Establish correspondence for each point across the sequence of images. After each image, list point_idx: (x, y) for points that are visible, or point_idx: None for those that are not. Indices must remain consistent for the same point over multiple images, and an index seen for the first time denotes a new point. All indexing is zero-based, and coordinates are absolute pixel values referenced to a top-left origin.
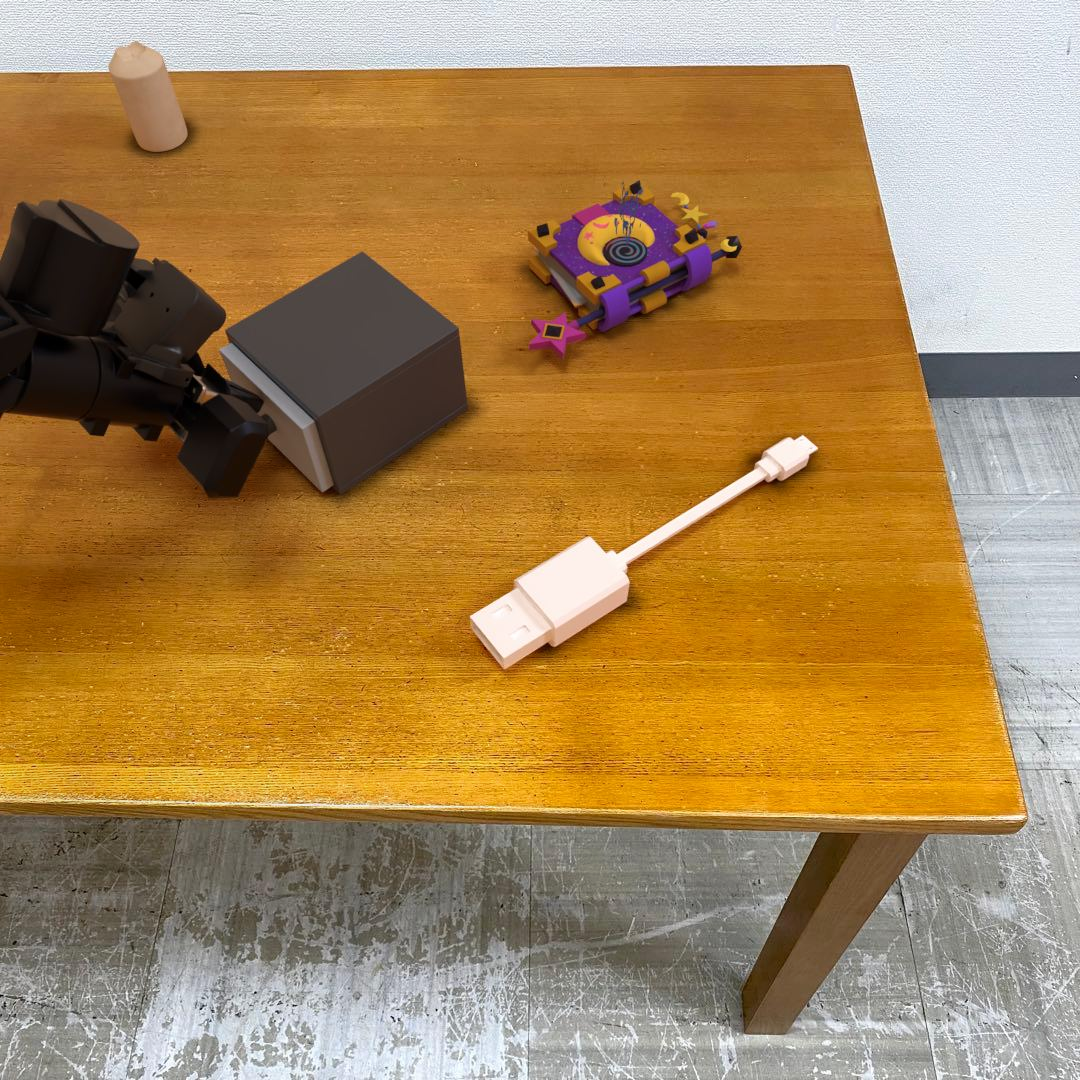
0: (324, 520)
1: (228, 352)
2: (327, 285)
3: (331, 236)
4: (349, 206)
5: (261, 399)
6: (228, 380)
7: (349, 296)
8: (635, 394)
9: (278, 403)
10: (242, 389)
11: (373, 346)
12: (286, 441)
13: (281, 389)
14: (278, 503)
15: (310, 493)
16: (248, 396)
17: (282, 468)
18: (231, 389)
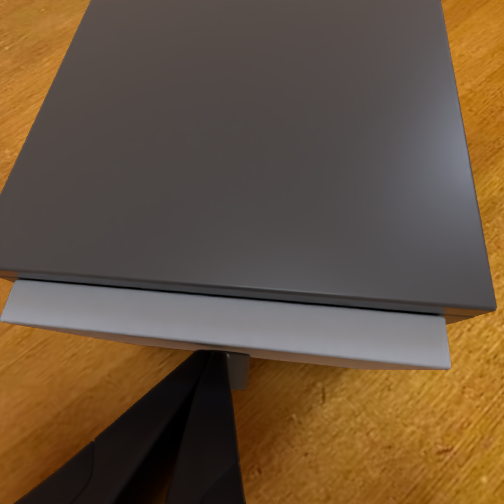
0: (395, 400)
1: (30, 309)
2: (111, 32)
3: (26, 79)
4: (17, 45)
5: (222, 356)
6: (120, 422)
7: (176, 20)
8: (476, 13)
9: (302, 345)
10: (178, 396)
11: (349, 58)
12: (280, 358)
13: None
14: (308, 430)
15: (330, 376)
16: (226, 411)
17: (254, 371)
18: (195, 497)
